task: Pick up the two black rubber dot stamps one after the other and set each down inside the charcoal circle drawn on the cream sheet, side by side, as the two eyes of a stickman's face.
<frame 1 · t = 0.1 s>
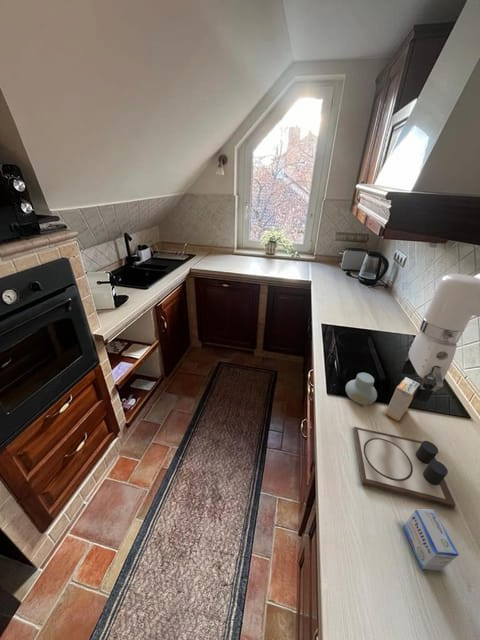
hand: (412, 385, 65), 27 cm above the worktop, tool pointing down, fingers open, 9 cm apart
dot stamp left: (423, 457, 75), point 2 cm above the worktop, touching sketch board
supplement box: (395, 412, 91), on the worktop
medicine box: (420, 547, 58), on the worktop
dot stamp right: (431, 477, 70), point 2 cm above the worktop, touching sketch board
sketch board: (396, 463, 75), on the worktop
air freshener: (358, 397, 97), on the worktop
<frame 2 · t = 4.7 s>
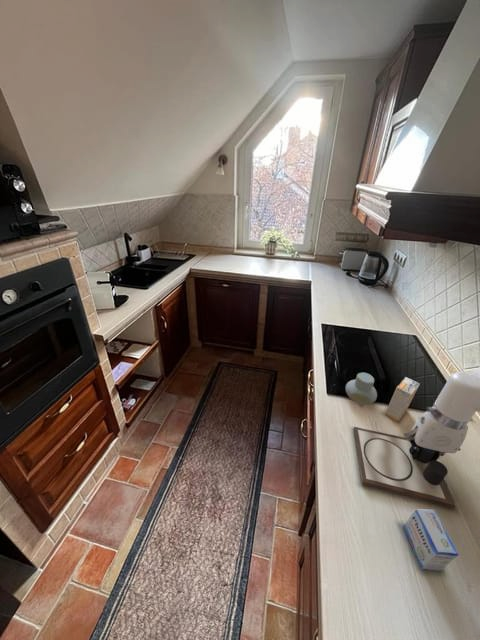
hand: (421, 456, 75), 2 cm above the worktop, tool pointing down, fingers closed on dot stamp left, sketch board, 4 cm apart
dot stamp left: (421, 456, 75), point 2 cm above the worktop, touching gripper
everything else where it was.
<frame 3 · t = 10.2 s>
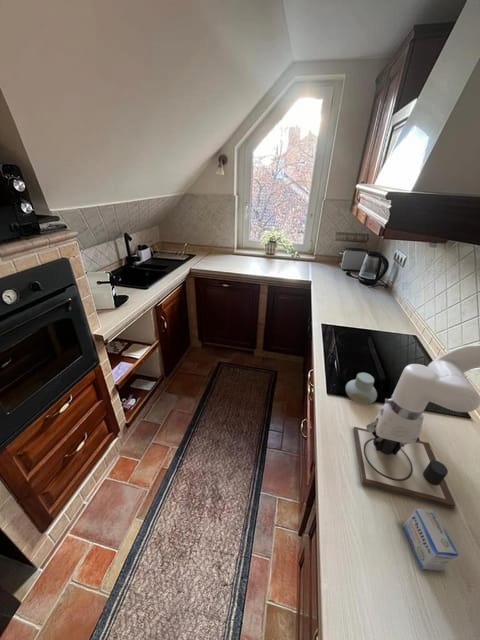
hand: (384, 448, 77), 2 cm above the worktop, tool pointing down, fingers closed on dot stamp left, 4 cm apart
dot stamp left: (384, 448, 77), point 2 cm above the worktop, touching gripper
everything else where it was.
when the fingers open (3 cm above the worktop, at t = 14.1 s): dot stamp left stays where it is, resting on sketch board.
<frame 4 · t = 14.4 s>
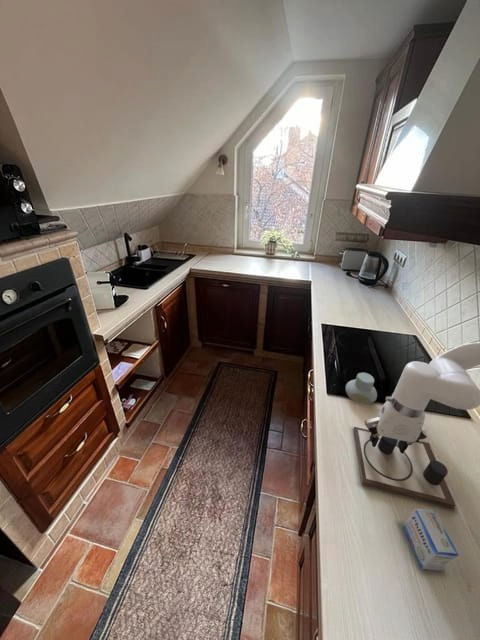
hand: (386, 445, 76), 3 cm above the worktop, tool pointing down, fingers open, 7 cm apart
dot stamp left: (384, 448, 77), point 2 cm above the worktop, touching sketch board
everything else where it was.
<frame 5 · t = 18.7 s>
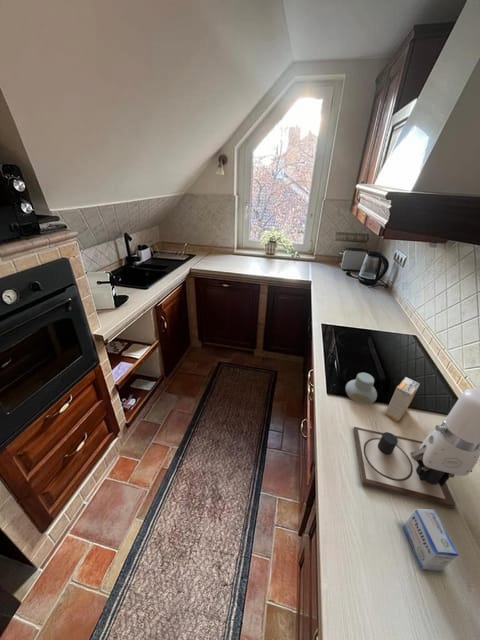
hand: (429, 477, 70), 2 cm above the worktop, tool pointing down, fingers closed on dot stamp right, 4 cm apart
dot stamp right: (429, 477, 70), point 2 cm above the worktop, touching gripper
everything else where it was.
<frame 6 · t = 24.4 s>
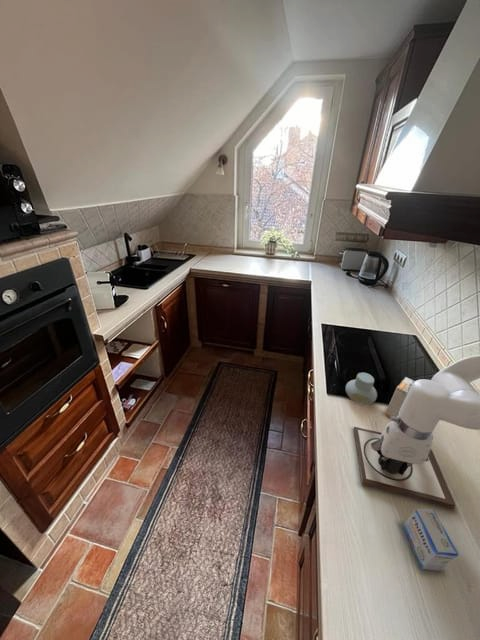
hand: (390, 467, 72), 2 cm above the worktop, tool pointing down, fingers closed on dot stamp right, 4 cm apart
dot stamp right: (390, 467, 72), point 2 cm above the worktop, touching gripper
everything else where it was.
when the fingers open (2 cm above the worktop, at t = 28.1 s): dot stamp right stays where it is, resting on sketch board.
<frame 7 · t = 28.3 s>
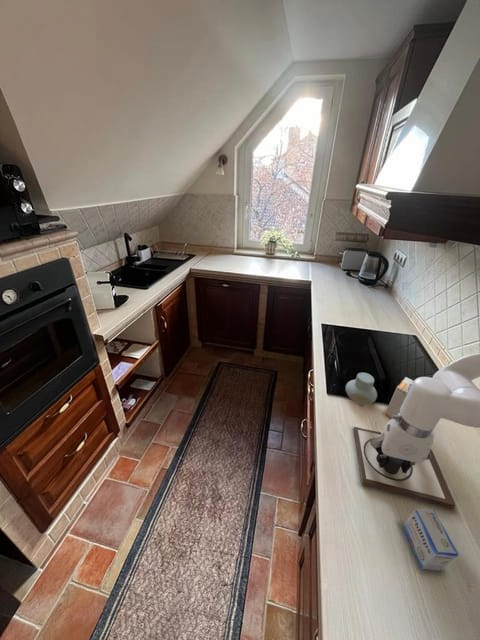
hand: (391, 465, 71), 3 cm above the worktop, tool pointing down, fingers open, 5 cm apart
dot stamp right: (389, 467, 72), point 2 cm above the worktop, touching sketch board
everything else where it was.
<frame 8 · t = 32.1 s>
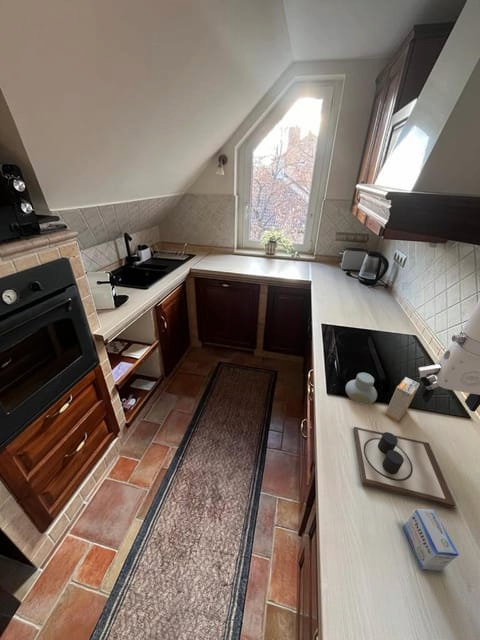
hand: (446, 402, 61), 26 cm above the worktop, tool pointing down, fingers open, 9 cm apart
nothing on the worktop moved.
at the end: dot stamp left 0.0 cm from the target spot, point 1.7 cm above the worktop; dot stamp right 0.1 cm from the target spot, point 1.7 cm above the worktop; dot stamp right tilted 0° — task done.
